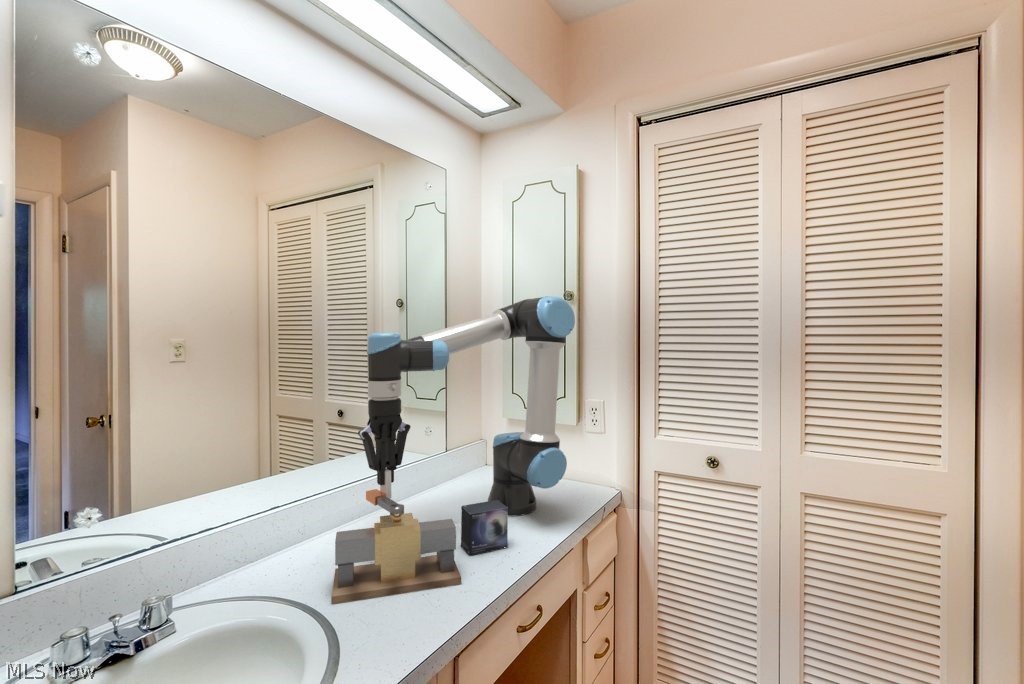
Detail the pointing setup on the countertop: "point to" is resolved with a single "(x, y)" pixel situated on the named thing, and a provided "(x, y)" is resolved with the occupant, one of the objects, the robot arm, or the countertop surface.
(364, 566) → the base board
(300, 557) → the countertop surface
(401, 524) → the valve
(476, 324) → the robot arm
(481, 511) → the small box
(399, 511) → the valve lever
